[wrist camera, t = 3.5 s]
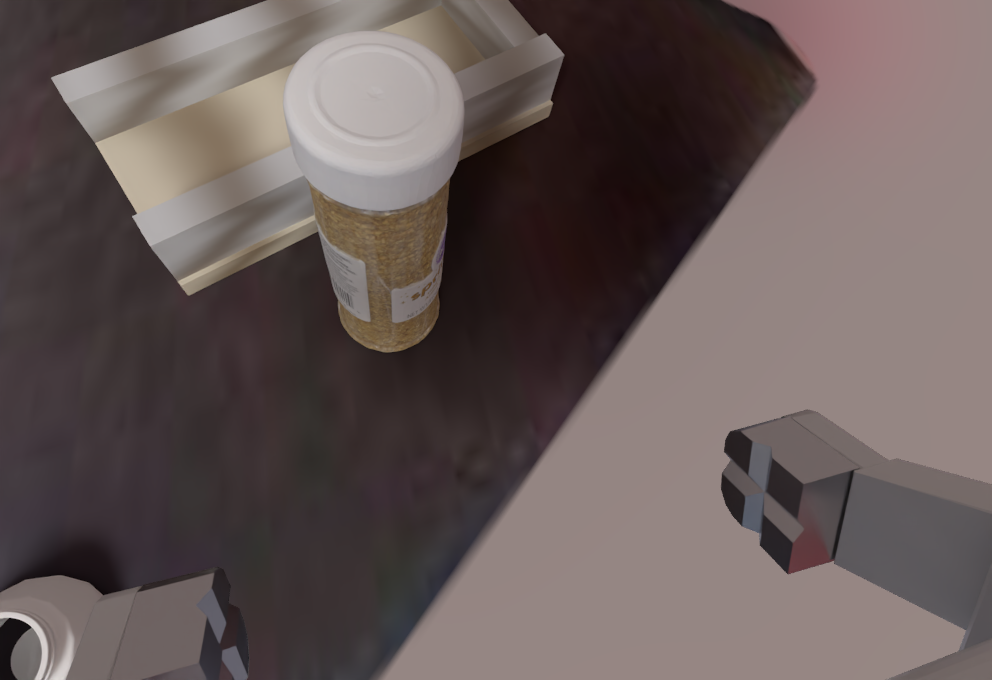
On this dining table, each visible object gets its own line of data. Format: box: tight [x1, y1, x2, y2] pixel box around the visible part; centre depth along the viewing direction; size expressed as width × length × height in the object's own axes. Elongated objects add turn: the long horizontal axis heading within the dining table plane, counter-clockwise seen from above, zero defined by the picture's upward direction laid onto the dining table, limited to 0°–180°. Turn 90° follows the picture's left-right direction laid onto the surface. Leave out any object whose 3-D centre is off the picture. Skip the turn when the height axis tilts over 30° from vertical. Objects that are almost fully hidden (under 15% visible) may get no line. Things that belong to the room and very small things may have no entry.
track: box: [51, 0, 564, 296], centre depth 29 cm, size 20×10×4 cm, turn 125°
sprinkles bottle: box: [283, 31, 465, 352], centre depth 21 cm, size 5×5×13 cm
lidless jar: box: [0, 575, 103, 680], centre depth 20 cm, size 5×3×5 cm
